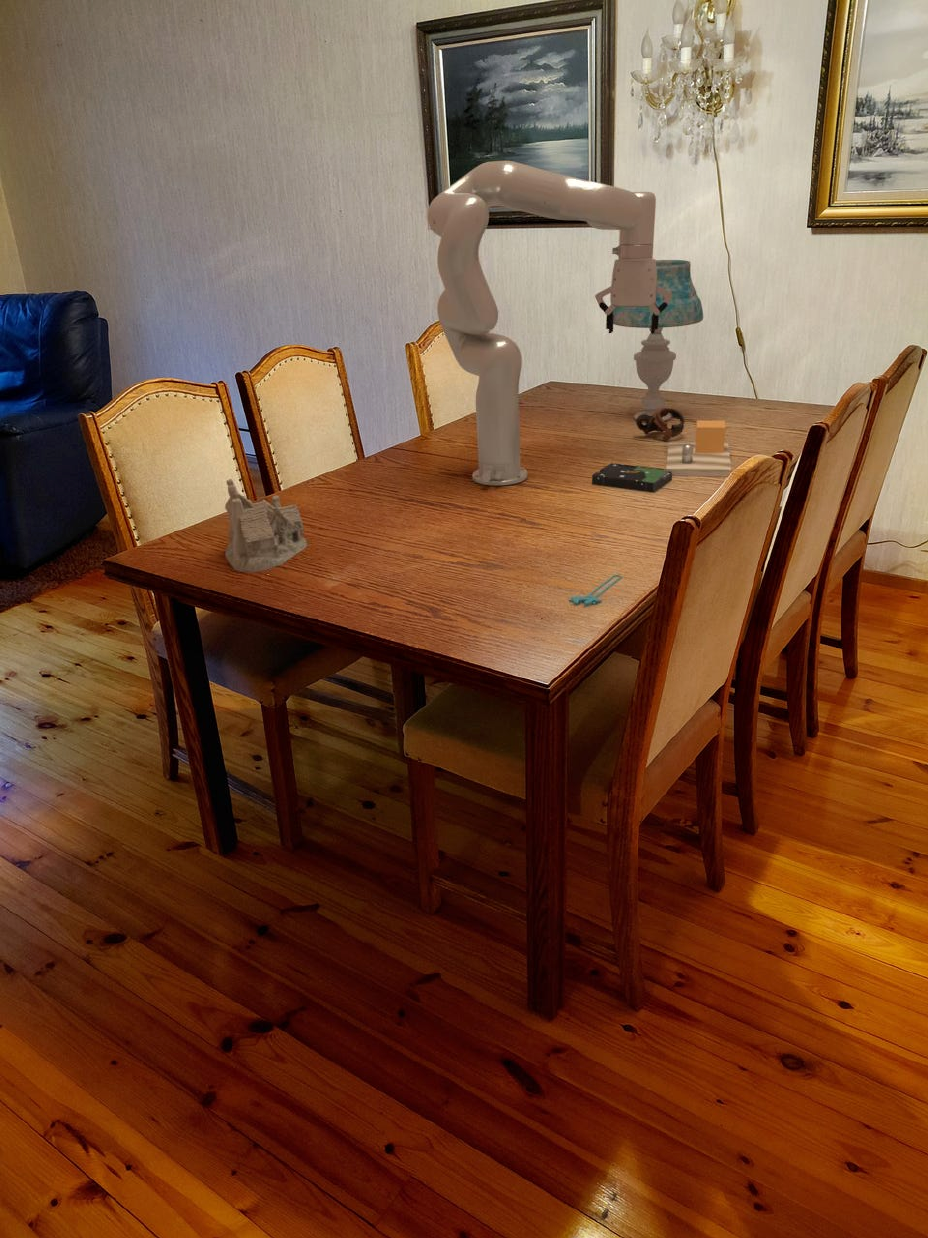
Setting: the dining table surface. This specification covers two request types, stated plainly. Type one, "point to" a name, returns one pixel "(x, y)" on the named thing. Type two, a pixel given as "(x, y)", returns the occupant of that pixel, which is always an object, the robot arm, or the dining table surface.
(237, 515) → the ceramic cottage
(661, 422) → the brown wheeled mechanism
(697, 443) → the mustard wooden cube
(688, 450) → the steel post
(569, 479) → the dining table surface
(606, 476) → the disk drive
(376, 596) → the dining table surface
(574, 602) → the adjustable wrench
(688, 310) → the table lamp
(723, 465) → the birch board
